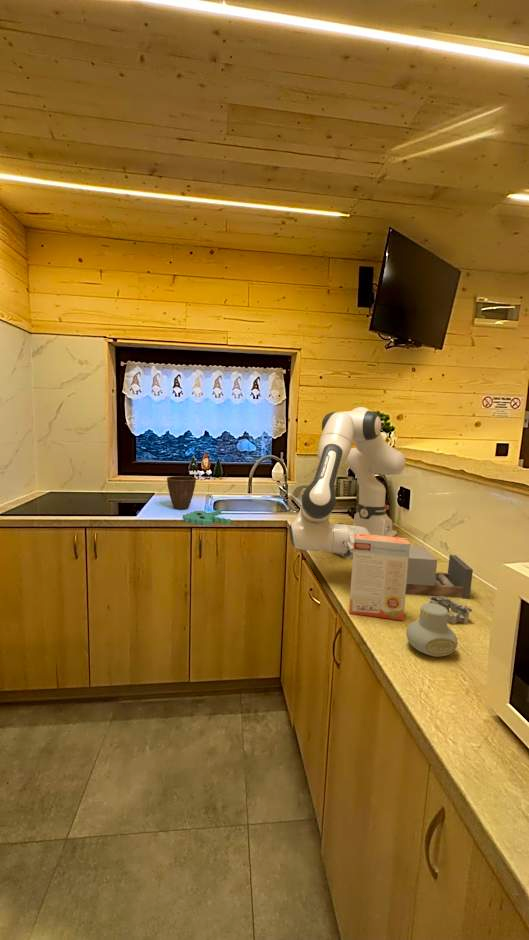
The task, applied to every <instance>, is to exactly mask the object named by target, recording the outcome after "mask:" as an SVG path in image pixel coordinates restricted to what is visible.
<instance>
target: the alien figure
mask: <svg viewBox="0 0 529 940" xmlns="http://www.w3.org/2000/svg"><path fill="white" fill-rule="evenodd" d="M219 515H222V510H221V509H216V510H214V511H211V512H209V513H205V511H204V510H194V511H191V512H190V513H189V512H188V513H186V514H182V519H183V521H184V522H185V523H191V524H196V525H202V526H207V525H209V526H210V525H213V522H214V523H216V522H218V523H221V524H224V523H225V524H226V525H231V524H232V519H231V518H225V517H219Z"/></svg>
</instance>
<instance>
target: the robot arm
mask: <svg viewBox="0 0 529 940" xmlns="http://www.w3.org/2000/svg"><path fill="white" fill-rule="evenodd" d="M381 420H382V419H381V416H380V415H379V414H378V413H377V412H375V411H371V410H370V409H369V408H367V407H364V406H358V407H355V408H353V409H352V410H348V411H347V410H346V411H345V410H344V411H333V412H332V411H331V412H328V413H327V414H326V415H324V417H323V419H322V421H321V431H322V433H321V435H320V438H319V441H318V447H317V455H316V456H317V458H318V459H319V463H318V466H317V469H316V472H315V476H314V478H313V480H312V482H311V483H310V484H309V485H308V486H307V487H306V488H305V490H304V491H303V494H302V495H301V507H300V509H299V512H298V513H297V516H296V517H295V518H294V519H293V521H292V522H291V523H290V525H289V538H290V543H291V545H292V546H293V547H294V548H295V549H298V550H303V551H308V552H321V551H323V552H324V551H325V552H328V553H333V554H336V553H347V550H350V552H351V553H353V550H354V538H355V533H358V534H368V535H378V536H389V537H396V535H397V534H398V531H397V530H395V529H393V520H392V519H391V518H390V517H389V516H388V514H387V510H389V508H390V505H389V504H386V493H387V490H386V487H385V485H384V484H383V483H382V482H380V481H379V480H378V479H377V478H376V474H377V475H385V476H393V475H394V476H395V475H400V474H401V473H402V472H403V471H404V470H405V468H406V464H407V459H406V456H405V454H404V453H403V452H402V451H399V450H398V449H395V448H394V447H392V446H391V445H390V444H389V443H387V442H386V440H385V439H384V438H383V436H382V434H381V430H382V421H381ZM353 443H354V446H355V447H352V446H353ZM345 463H346V466H348V468H349V469H350V470H351V471H352V473H353V474H354V475H355V478H357V482H358V490H359V492H358V495H359V496H358V503H357V506H356V511H357V512H356V513H355V514H354V517H353V524H345V523H344V522H338V523H330V522H329V521H330V520H329V519H330V518H331V514H332V512H333V511H334V508H335V506H336V502H337V498H336V497H337V496H336V493H335V483H336V478H337V474H338V472H339V468H340V466H343V465H344V464H345Z"/></svg>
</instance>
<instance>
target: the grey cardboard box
mask: <svg viewBox="0 0 529 940" xmlns="http://www.w3.org/2000/svg"><path fill="white" fill-rule="evenodd" d="M437 566H438V559H437V558H436V557H435V556H434V555H433V554H432V553H431V552H430V551H429V550H428V549H427V548H426V547H425V546H424V545H423V546H422V545H411V544H410V548H409V559H408V571H407V582H406V584H415V585H430V586H435V578H436V572H437Z"/></svg>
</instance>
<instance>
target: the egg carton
mask: <svg viewBox="0 0 529 940" xmlns="http://www.w3.org/2000/svg"><path fill="white" fill-rule="evenodd" d="M427 597H428V598H429V600H430V601H429V603H434V604H438V605H441V606H443V607H445V608H446V609H447V610H448V621H447V624H448V623H450V624H452V625H456V624H457V623H462V624H468V621H469V618H470V617H469V615H470V614H469V613H472V612H473V611H472V609H471V608H470V607H469V606H466V605H462V604H459V603H458V602H456V601H454V600H451V597H446V598H444V597H445V596H431V595H427ZM450 611H451V612H452V613H450ZM453 613H454V614H456V615H454V614H453Z"/></svg>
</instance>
